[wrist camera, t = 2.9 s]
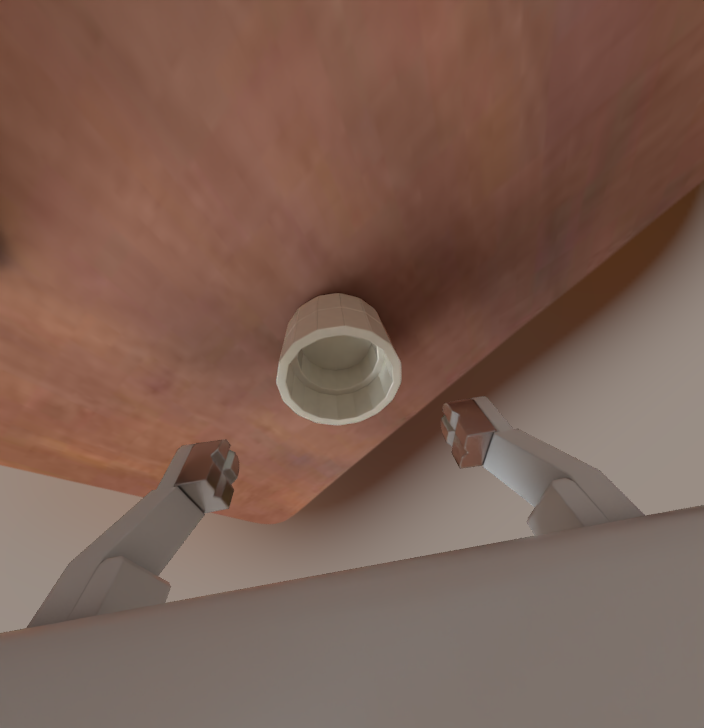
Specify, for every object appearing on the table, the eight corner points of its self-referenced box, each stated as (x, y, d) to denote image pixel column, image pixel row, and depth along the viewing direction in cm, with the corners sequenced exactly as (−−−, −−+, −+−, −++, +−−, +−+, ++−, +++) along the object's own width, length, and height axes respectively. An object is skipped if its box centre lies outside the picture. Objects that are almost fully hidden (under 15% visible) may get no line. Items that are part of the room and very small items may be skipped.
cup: (380, 283, 14) (401, 316, 10) (384, 368, 17) (401, 415, 14) (275, 298, 14) (259, 338, 10) (299, 380, 17) (294, 432, 14)
